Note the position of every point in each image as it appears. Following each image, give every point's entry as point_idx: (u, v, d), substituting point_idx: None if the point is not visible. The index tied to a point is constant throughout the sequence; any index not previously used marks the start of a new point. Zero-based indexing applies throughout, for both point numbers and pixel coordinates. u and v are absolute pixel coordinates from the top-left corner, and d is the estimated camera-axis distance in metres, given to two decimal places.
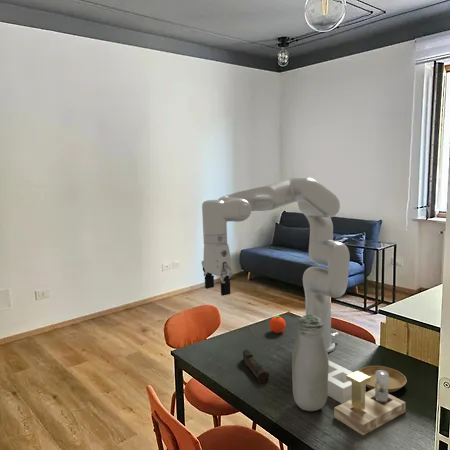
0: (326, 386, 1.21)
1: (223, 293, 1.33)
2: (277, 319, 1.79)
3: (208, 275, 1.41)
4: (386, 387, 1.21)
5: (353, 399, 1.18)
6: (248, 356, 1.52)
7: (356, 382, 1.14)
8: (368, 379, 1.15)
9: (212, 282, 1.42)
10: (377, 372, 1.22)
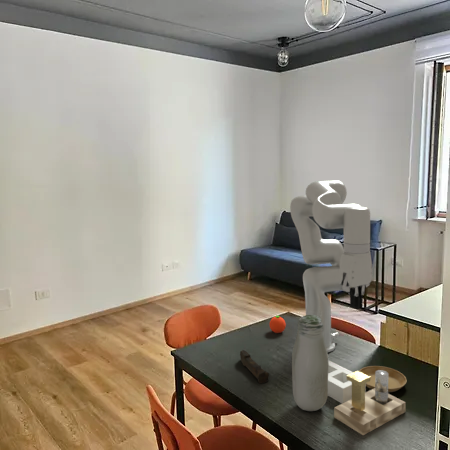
0: (326, 386, 1.21)
1: None
2: (277, 319, 1.79)
3: None
4: (386, 387, 1.21)
5: (353, 399, 1.18)
6: (246, 356, 1.51)
7: (356, 382, 1.14)
8: (368, 379, 1.15)
9: None
10: (377, 372, 1.22)
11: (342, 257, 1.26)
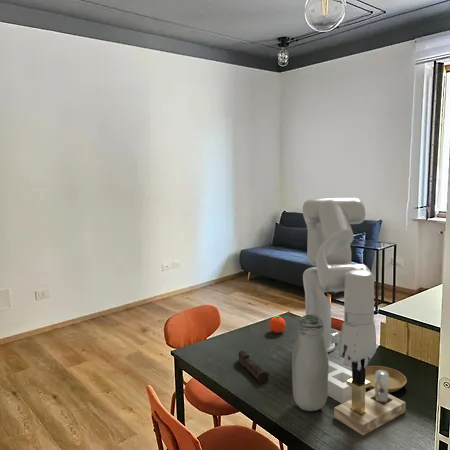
0: (326, 386, 1.21)
1: None
2: (277, 319, 1.79)
3: None
4: (386, 387, 1.21)
5: (353, 404, 1.18)
6: (245, 357, 1.51)
7: (356, 387, 1.14)
8: (368, 384, 1.15)
9: None
10: (377, 372, 1.22)
11: (343, 327, 1.13)
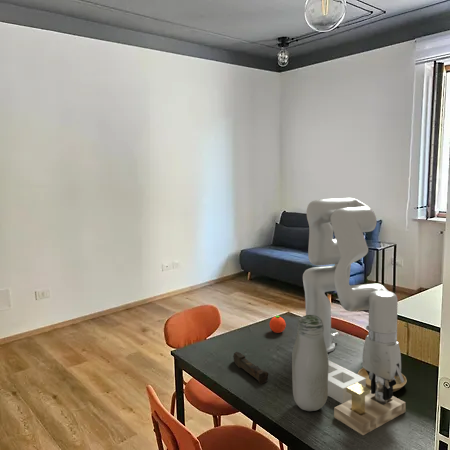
0: (326, 386, 1.21)
1: None
2: (277, 319, 1.79)
3: None
4: None
5: None
6: (241, 358, 1.50)
7: (356, 394, 1.15)
8: (368, 391, 1.16)
9: None
10: None
11: (393, 349, 1.16)
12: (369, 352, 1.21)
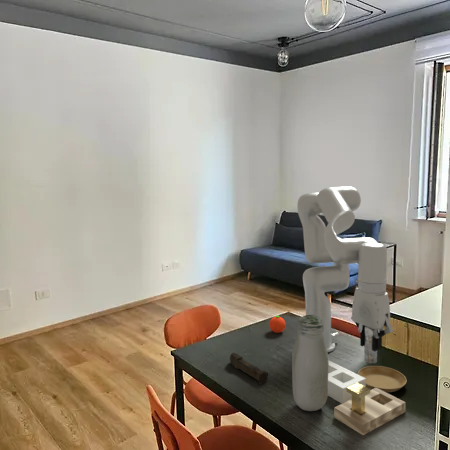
0: (326, 386, 1.21)
1: None
2: (277, 319, 1.79)
3: None
4: None
5: None
6: (239, 359, 1.50)
7: (356, 394, 1.15)
8: (368, 391, 1.16)
9: None
10: None
11: (382, 299, 1.17)
12: (358, 304, 1.22)
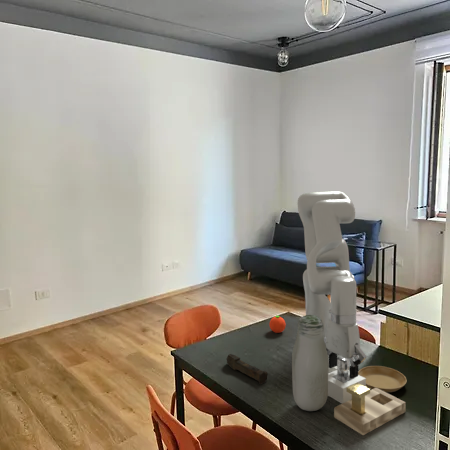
0: (326, 386, 1.21)
1: None
2: (277, 319, 1.79)
3: None
4: (347, 372, 1.30)
5: None
6: (237, 360, 1.49)
7: (356, 394, 1.15)
8: (368, 391, 1.16)
9: None
10: (339, 358, 1.32)
11: (351, 330, 1.25)
12: (331, 333, 1.30)
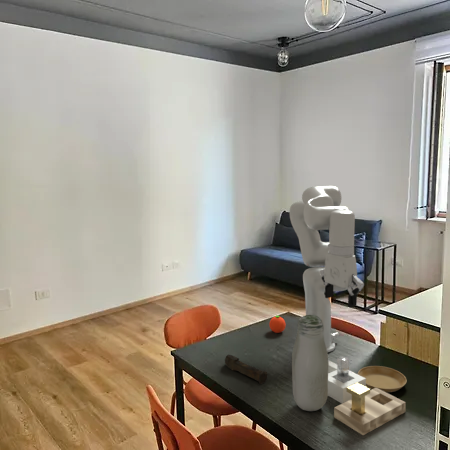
0: (326, 386, 1.21)
1: None
2: (277, 319, 1.79)
3: None
4: (347, 372, 1.30)
5: None
6: (235, 360, 1.49)
7: (356, 394, 1.15)
8: (368, 391, 1.16)
9: None
10: (339, 358, 1.32)
11: (349, 261, 1.29)
12: (329, 266, 1.35)
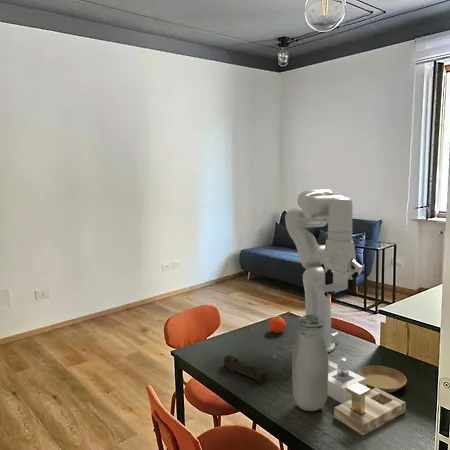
0: (326, 386, 1.21)
1: None
2: (277, 319, 1.79)
3: None
4: (347, 372, 1.30)
5: None
6: (235, 361, 1.48)
7: (356, 394, 1.15)
8: (368, 391, 1.16)
9: None
10: (339, 358, 1.32)
11: (348, 245, 1.33)
12: (328, 252, 1.39)
